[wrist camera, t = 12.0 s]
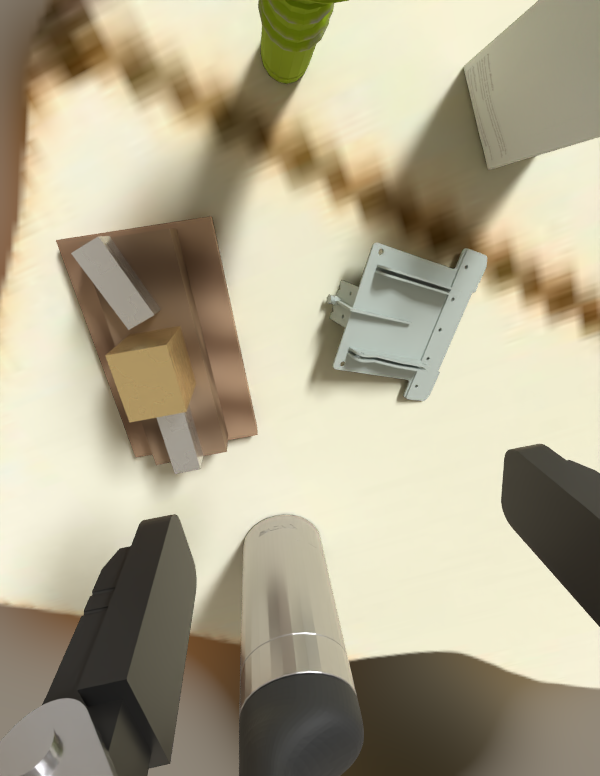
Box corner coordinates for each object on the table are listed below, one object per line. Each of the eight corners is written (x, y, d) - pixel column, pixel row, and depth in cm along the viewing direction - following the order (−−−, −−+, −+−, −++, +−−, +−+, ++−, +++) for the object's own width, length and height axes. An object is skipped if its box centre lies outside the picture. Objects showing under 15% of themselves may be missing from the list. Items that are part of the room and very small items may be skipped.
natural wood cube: (129, 334, 30) (105, 355, 25) (180, 325, 30) (166, 344, 25) (148, 392, 32) (129, 422, 27) (196, 383, 32) (186, 412, 27)
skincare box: (547, 140, 33) (760, 76, 19) (481, 173, 33) (644, 134, 19) (528, 23, 30) (769, -156, 16) (456, 61, 30) (629, -81, 16)
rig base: (257, 427, 40) (258, 450, 36) (139, 449, 39) (126, 475, 35) (211, 216, 32) (206, 214, 28) (64, 239, 31) (35, 241, 27)
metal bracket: (326, 396, 33) (388, 213, 28) (300, 370, 38) (349, 210, 33) (444, 409, 40) (511, 262, 35) (410, 385, 45) (464, 253, 40)
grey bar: (203, 455, 35) (200, 468, 33) (157, 463, 35) (151, 478, 33) (139, 231, 28) (130, 231, 26) (80, 240, 27) (66, 241, 25)
